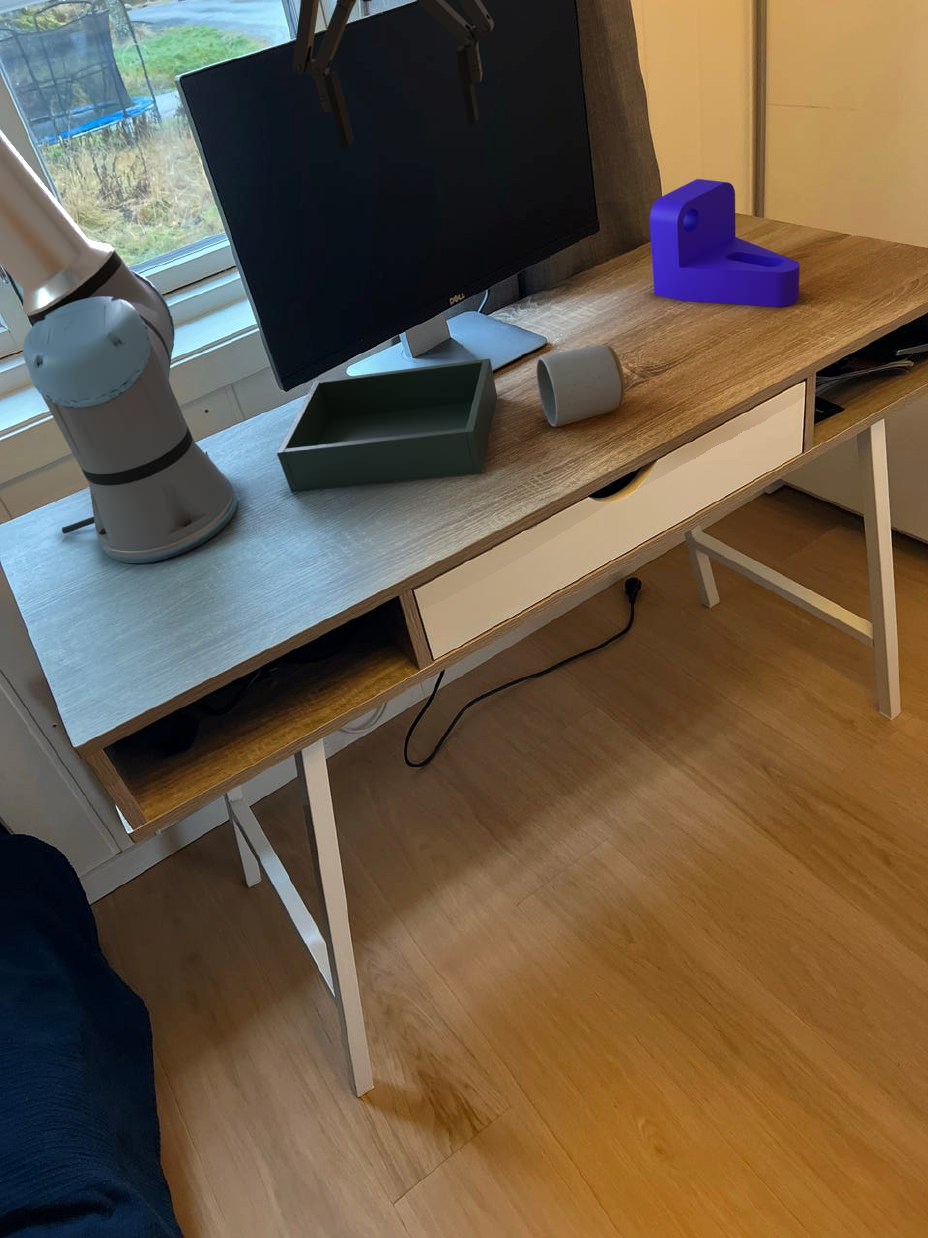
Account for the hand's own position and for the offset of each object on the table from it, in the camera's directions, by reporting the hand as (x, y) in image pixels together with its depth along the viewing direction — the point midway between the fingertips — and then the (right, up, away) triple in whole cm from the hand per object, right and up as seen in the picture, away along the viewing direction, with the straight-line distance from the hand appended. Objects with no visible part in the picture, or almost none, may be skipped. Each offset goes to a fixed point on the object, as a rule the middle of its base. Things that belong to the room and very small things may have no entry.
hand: (410, 132), depth 96 cm
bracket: (+41, -8, +23) cm, 48 cm away
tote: (-2, -30, +10) cm, 32 cm away
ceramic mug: (+18, -27, +8) cm, 34 cm away
